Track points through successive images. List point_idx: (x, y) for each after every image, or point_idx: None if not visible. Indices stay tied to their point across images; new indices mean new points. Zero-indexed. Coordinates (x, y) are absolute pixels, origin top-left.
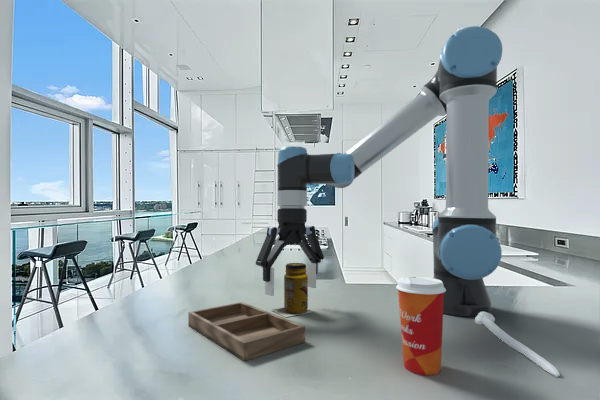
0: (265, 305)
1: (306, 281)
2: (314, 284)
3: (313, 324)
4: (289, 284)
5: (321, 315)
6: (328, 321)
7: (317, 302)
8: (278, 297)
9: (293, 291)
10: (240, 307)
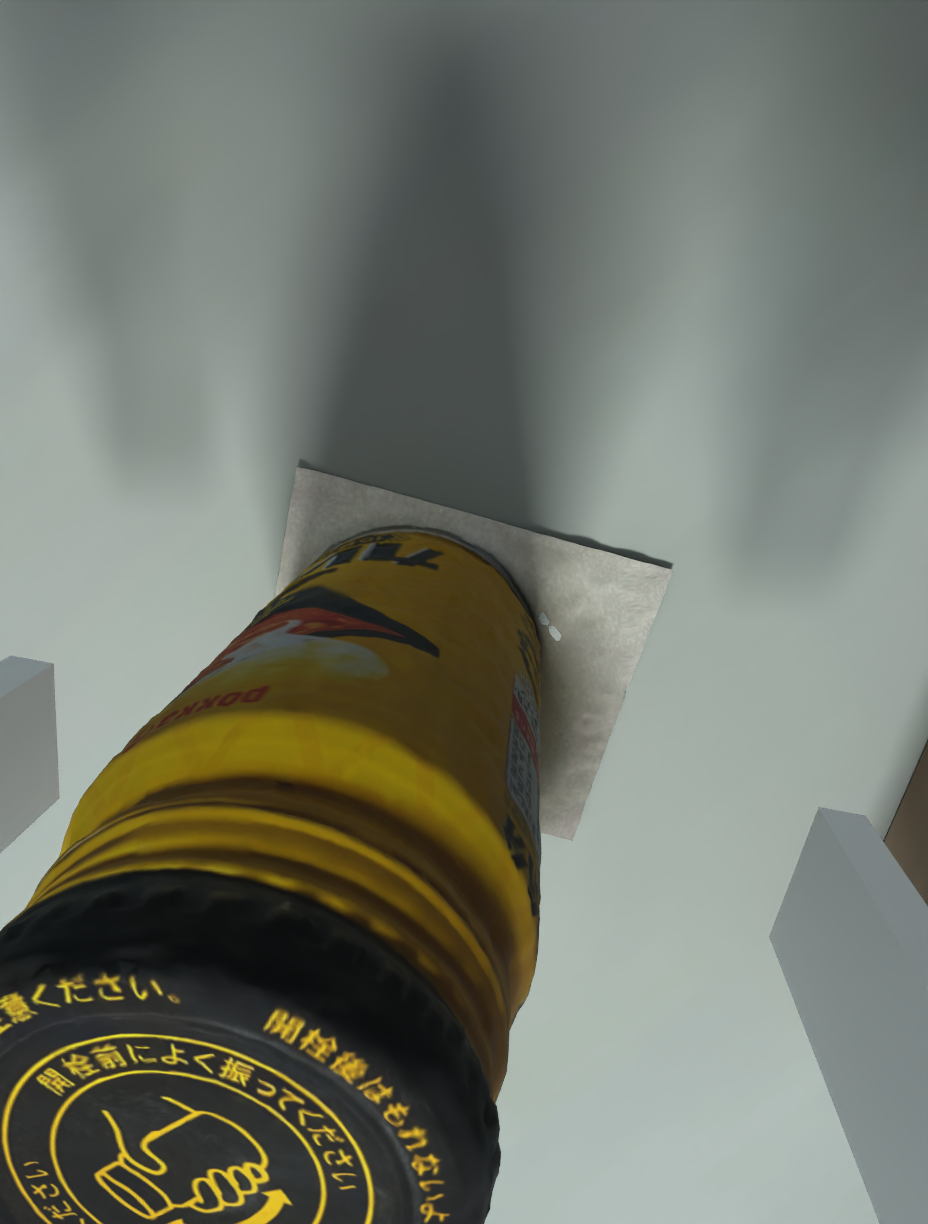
0: None
1: (241, 672)
2: (6, 685)
3: (690, 133)
4: (535, 825)
5: (344, 309)
6: (475, 58)
7: None
8: None
9: (516, 702)
10: None
